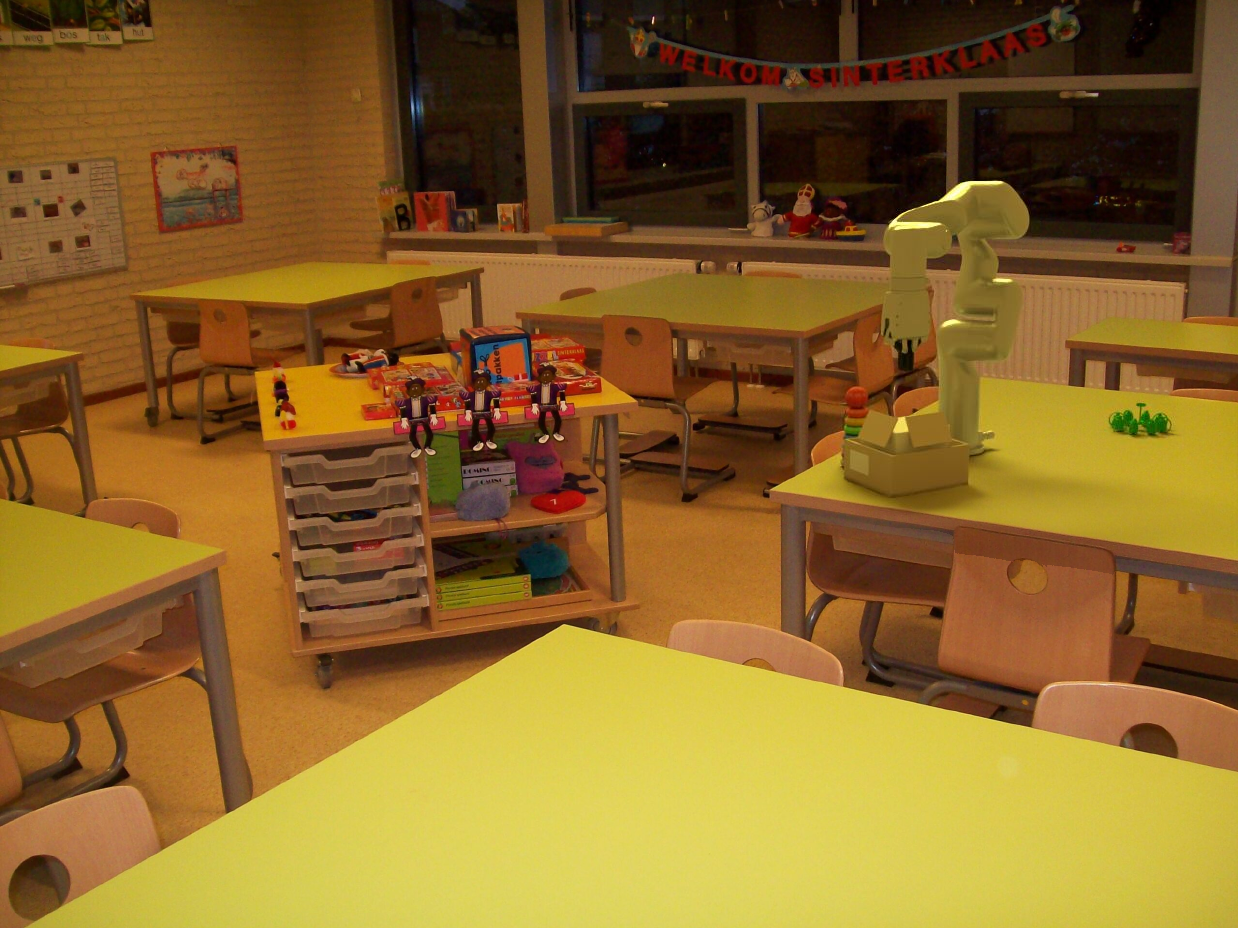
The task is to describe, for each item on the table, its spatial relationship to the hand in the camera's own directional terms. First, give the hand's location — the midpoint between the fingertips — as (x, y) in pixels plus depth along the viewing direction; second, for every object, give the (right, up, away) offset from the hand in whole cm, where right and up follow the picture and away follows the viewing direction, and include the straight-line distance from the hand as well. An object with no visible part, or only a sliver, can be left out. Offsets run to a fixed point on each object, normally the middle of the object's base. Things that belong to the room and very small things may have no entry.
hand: (905, 370), depth 264 cm
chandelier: (+69, -12, +44) cm, 83 cm away
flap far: (-6, -13, +1) cm, 14 cm away
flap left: (+4, -13, -2) cm, 14 cm away
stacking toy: (-6, -21, +20) cm, 30 cm away
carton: (+1, -24, +7) cm, 25 cm away
